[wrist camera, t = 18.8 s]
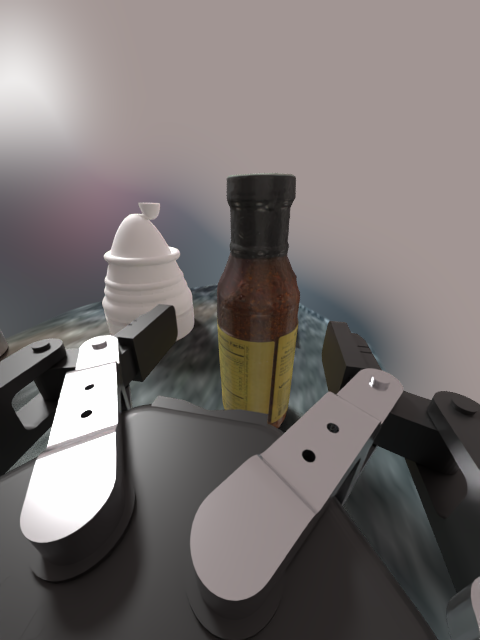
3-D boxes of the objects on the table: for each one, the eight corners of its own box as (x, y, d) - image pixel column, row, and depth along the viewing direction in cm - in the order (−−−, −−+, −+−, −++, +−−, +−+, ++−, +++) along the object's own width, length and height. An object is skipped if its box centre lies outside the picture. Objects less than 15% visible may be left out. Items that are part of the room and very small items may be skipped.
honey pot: (192, 307, 45) (184, 202, 36) (196, 343, 34) (185, 204, 25) (121, 312, 42) (94, 201, 34) (99, 353, 31) (51, 202, 23)
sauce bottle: (270, 383, 26) (292, 180, 17) (298, 430, 21) (352, 173, 12) (213, 396, 24) (204, 176, 15) (229, 450, 19) (228, 165, 10)
